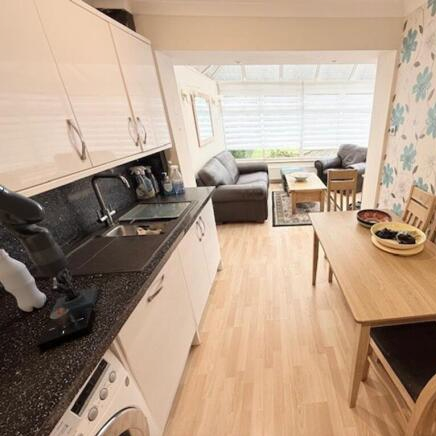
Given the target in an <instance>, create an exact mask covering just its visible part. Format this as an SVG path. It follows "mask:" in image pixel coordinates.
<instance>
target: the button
mask: <svg viewBox="0 0 436 436" xmlns="http://www.w3.org/2000/svg"><path fill="white" fill-rule="evenodd" d="M78 296H79V293H76V296H75V297H73V298H70V299H68V298H67V297H66V298H65V300H66V301H71V300H74V299H76V298H77V297H78Z"/></svg>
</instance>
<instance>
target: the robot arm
mask: <svg viewBox="0 0 436 436" xmlns="http://www.w3.org/2000/svg"><path fill="white" fill-rule="evenodd" d="M45 218H46V210H45V208H44V207H43V206H42V205H41V204H40V203H39V202H37V201H35V200H33V199H31V198H30V197H27V196H25V195H23V194H21V193H18V192H16V191H13V190H11V189H9V188H7V187H6V186H4V185H3V184H2V183H0V224H1V225H2V227H4V228H5V229H6V230H7V232H9V233H11V234H12V235H13V236H14V237H15V238H16V239H18V240H19V241H20V242H21V244H22V246H23V247H24V249H25V250H26V252H27V253H28V257H29V258H30V260H31V262H32V264H33V265H34V266H35V268H36V269H37V271H38V273H39V274H40V275H41V276H46V277H47V276H48V277H49V280H50V282H51V283H53V285H52V286H50V288H49V289H50V290H51V291H53V292H55V293H57V294H62V293H64V296H65V295H66V296H67V298H68V299H70V298H73V297H75V296H76V292H75V291H76V290H75V289H74V287H73V286H74V284H73V283H74V280H73V279H74V278H73V275H72V270H71V267H70V266H69V265H70V262H69V260H68V259H67V257H66V254H65V252H63V250H62V248H61V246H60V245H59V244H58V243H57V241H56V240H55V238H54V236H53V234H52V232H51V231H50V230H49V229H48V228H47V227H41V226H38V225H37V224H40V223H41V222H43V221H44V220H45Z"/></svg>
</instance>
